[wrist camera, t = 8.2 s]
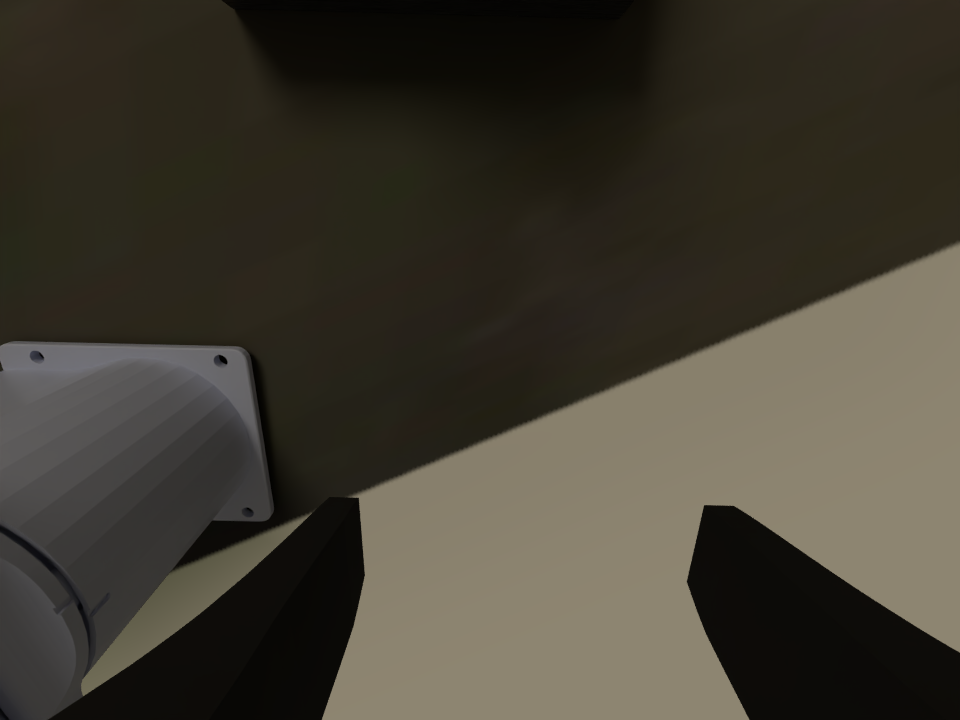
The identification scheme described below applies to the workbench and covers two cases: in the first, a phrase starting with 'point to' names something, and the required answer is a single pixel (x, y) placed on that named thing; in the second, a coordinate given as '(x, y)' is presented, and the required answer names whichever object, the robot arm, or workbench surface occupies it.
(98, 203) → the workbench surface
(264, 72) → the workbench surface
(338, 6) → the steel base
